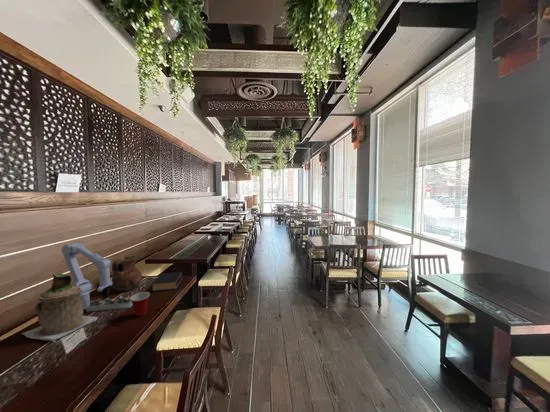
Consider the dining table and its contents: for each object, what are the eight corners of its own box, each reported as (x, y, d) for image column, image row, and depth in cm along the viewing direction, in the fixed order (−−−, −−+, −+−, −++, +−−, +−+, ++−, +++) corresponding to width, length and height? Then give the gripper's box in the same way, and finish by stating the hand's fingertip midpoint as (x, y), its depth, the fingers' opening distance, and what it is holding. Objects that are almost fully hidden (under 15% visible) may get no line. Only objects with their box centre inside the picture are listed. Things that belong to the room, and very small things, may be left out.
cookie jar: (99, 319, 145) (96, 267, 144) (52, 344, 121) (48, 281, 120) (69, 315, 151) (66, 265, 150) (19, 337, 128) (15, 278, 127)
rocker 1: (90, 305, 156) (89, 302, 156) (93, 303, 159) (92, 300, 159) (98, 303, 157) (97, 300, 157) (101, 301, 160) (100, 297, 160)
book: (182, 279, 214) (182, 271, 214) (176, 289, 190) (175, 281, 189) (161, 281, 211) (161, 273, 211) (152, 292, 187) (152, 283, 186)
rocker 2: (104, 302, 158) (105, 299, 158) (107, 300, 161) (107, 297, 161) (112, 303, 158) (113, 300, 158) (115, 301, 162) (115, 298, 162)
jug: (117, 285, 202) (115, 256, 202) (144, 282, 209) (143, 253, 208) (107, 295, 181) (105, 262, 180) (138, 291, 188) (137, 259, 187)
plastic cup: (128, 320, 143) (127, 300, 143) (134, 311, 154) (133, 293, 153) (148, 317, 146) (147, 297, 145) (152, 309, 156) (151, 291, 156)
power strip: (86, 312, 155) (85, 304, 155) (93, 306, 163) (92, 299, 163) (130, 307, 160) (129, 300, 159) (134, 302, 167) (134, 295, 167)
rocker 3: (118, 301, 159) (119, 298, 159) (120, 299, 162) (121, 295, 162) (126, 302, 160) (127, 299, 160) (128, 300, 163) (129, 297, 163)
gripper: (105, 281, 152) (106, 302, 153) (116, 273, 166) (117, 293, 167) (93, 282, 151) (94, 303, 151) (105, 274, 165) (106, 294, 166)
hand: (105, 298), depth 159 cm, fingers closed
